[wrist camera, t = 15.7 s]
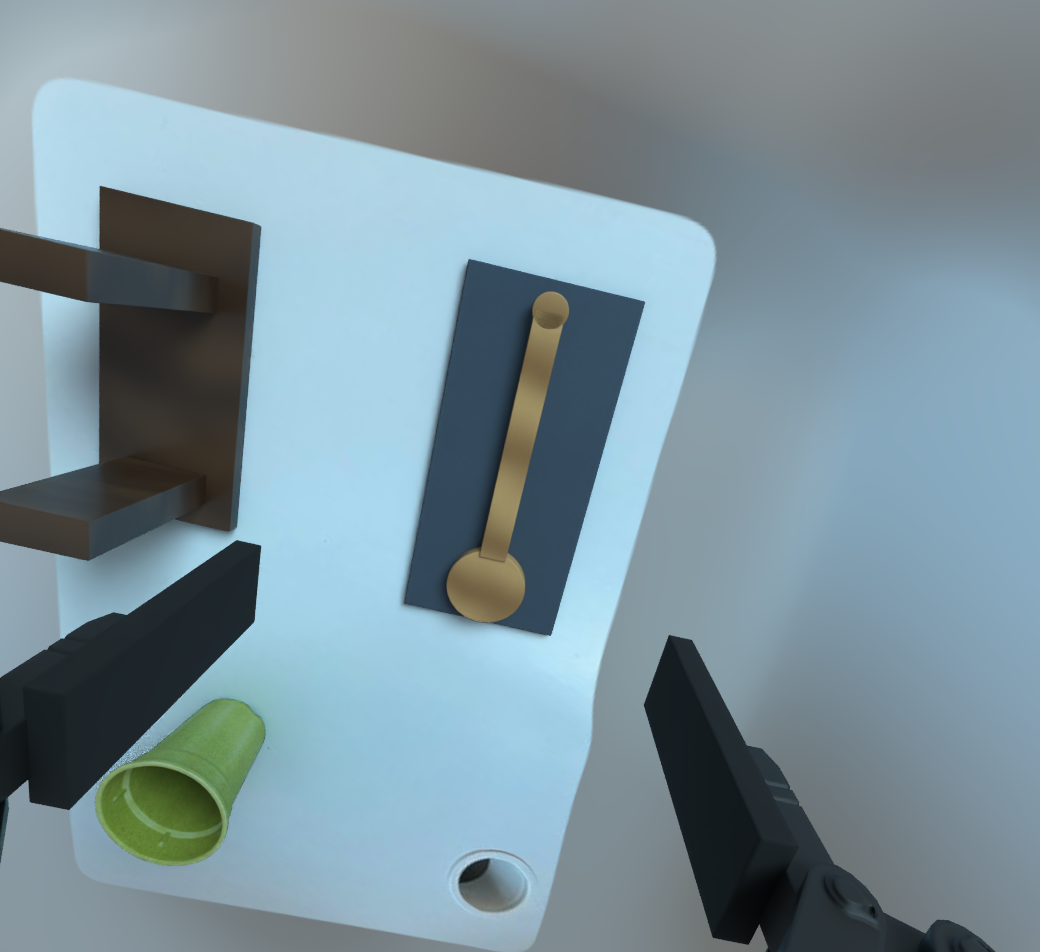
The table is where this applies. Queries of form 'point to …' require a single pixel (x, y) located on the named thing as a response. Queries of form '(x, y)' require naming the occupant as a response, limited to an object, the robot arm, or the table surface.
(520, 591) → the ladle
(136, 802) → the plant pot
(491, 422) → the mat
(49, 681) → the robot arm
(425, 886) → the table surface
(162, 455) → the rack
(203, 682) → the table surface
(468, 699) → the table surface
